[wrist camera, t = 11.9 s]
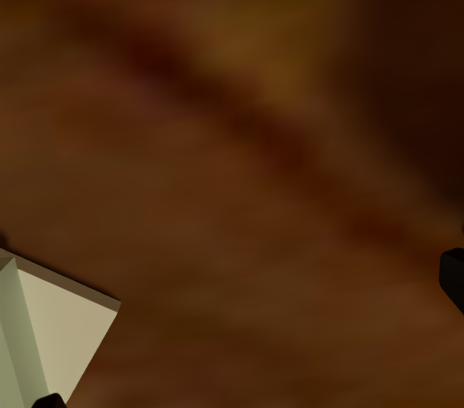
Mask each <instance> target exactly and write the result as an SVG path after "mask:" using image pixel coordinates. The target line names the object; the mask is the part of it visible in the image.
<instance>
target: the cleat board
mask: <svg viewBox="0 0 464 408" xmlns="http://www.w3.org/2000/svg"><path fill="white" fill-rule="evenodd" d="M120 304H121V302H120V301H118V300H116V299H113V298H111V297H109V296H107V295H104V294H102V293H100V292H98V291H95V290H93V289H91V288H89V287H86V286H84V285H82V284H80V283H77V282H75V281H73V280H71V279H68V278H66V277H64V276H62V275H60V274H57V273H55V272H53V271H51V270H48V269H46V268H44V267H42V266H39V265H37V264H35V263H33V262H30V261H28V260H26V259H24V258H21V257H19V256H17V255H15V254H12V253H10V252H8V251H6V250H4V249H1V248H0V408H31V407H32V405H33V404H34V402H35V401H36V400H37V399H39V398H41V397H44V396H47V395H49V394H52V393H59V394H60V395H61V397H62V399H63V401H64V403H65V404H66V402H67V401H68V399H69V397H70V395H71V394H72V392H73V390H74V388H75V387H76V385H77V383H78V381H79V380H80V378H81V376H82V374H83V373H84V371H85V369H86V367H87V366H88V364H89V362H90V360H91V359H92V357H93V355H94V353H95V352H96V350H97V348H98V346H99V344H100V343H101V341H102V339H103V337H104V336H105V334H106V332H107V330H108V329H109V327H110V325H111V323H112V322H113V320H114V318H115V316H116V315H117V313H118V310H119V307H120Z"/></svg>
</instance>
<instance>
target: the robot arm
mask: <svg viewBox="0 0 464 408" xmlns="http://www.w3.org/2000/svg"><path fill="white" fill-rule="evenodd" d="M439 283H440V286H441V288H442V289H443V291H444V292H445V293H446V294H447V295H448V297H449V298H450V299H451V300H452V301H453V303H454V304H455V305H456V306H457V307H458V309H459V310H460V311H461V312H462V313H463V315H464V248H454V249H451V250H448V251H446V252H444V253H442V255H441V257H440V270H439ZM31 408H67V407H66V405H65V403H64V401H63V399H62V397H61V395H60V394H59V393H52V394H49V395H47V396H44V397H41V398H39V399H37V400H36V401H35V402H34V404H33V405H32V407H31Z"/></svg>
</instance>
